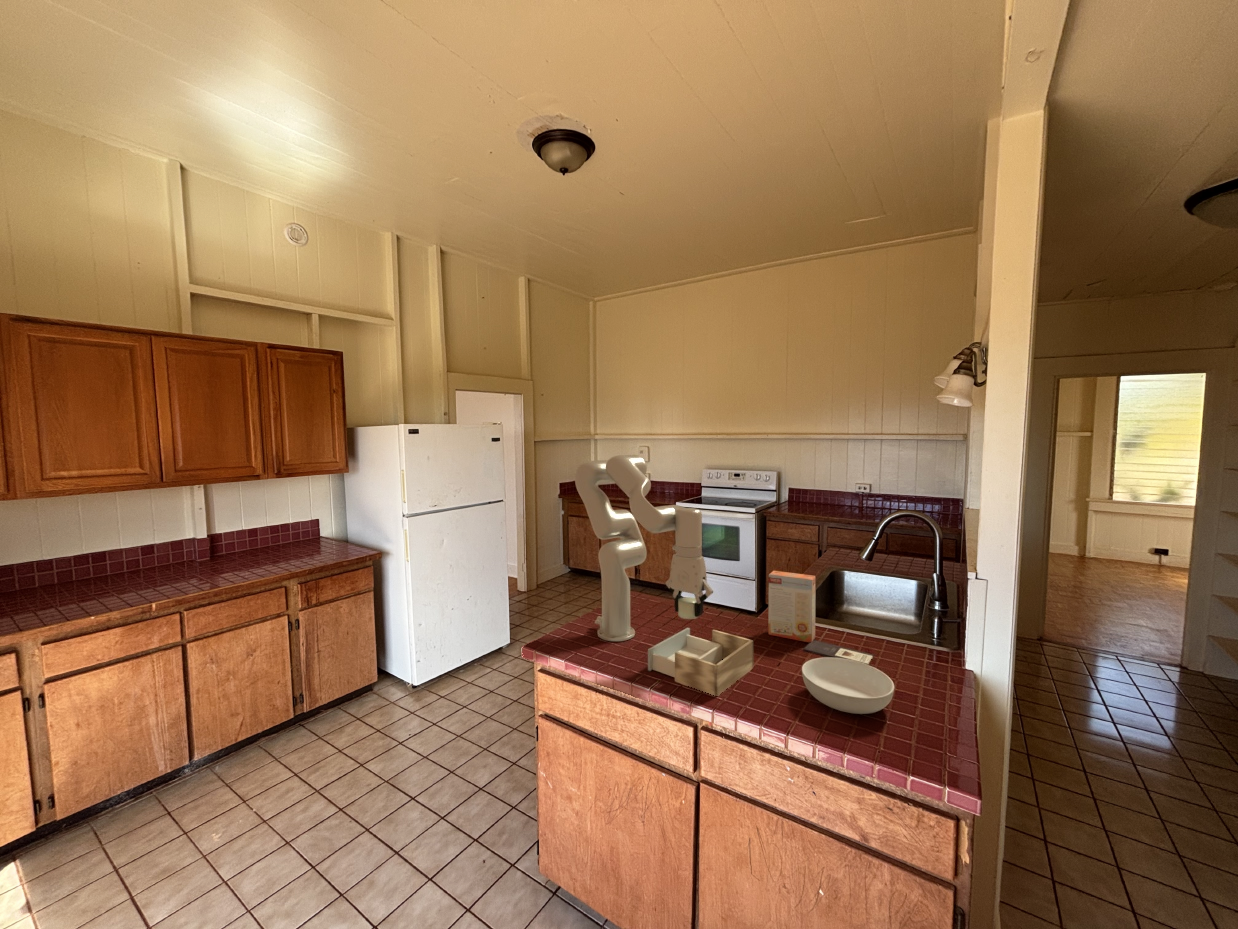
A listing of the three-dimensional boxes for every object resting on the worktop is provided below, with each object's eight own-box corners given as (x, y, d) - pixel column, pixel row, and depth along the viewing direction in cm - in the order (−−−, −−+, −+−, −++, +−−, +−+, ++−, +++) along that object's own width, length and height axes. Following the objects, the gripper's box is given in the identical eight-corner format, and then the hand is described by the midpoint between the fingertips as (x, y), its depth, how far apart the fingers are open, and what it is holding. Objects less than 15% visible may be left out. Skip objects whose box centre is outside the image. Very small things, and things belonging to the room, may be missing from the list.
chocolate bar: (812, 639, 160) (873, 654, 149) (812, 642, 160) (873, 657, 149) (803, 648, 153) (866, 665, 142) (803, 651, 153) (866, 668, 142)
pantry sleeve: (674, 681, 134) (674, 652, 133) (713, 655, 150) (713, 629, 150) (717, 697, 126) (717, 666, 125) (753, 667, 142) (753, 640, 141)
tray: (647, 670, 140) (647, 649, 139) (687, 646, 156) (687, 627, 155) (686, 684, 131) (686, 662, 131) (724, 657, 148) (724, 637, 147)
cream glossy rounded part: (674, 616, 142) (674, 601, 142) (685, 610, 147) (685, 595, 147) (692, 620, 139) (692, 605, 138) (703, 614, 143) (703, 600, 143)
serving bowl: (850, 735, 109) (850, 705, 109) (783, 691, 128) (784, 665, 128) (914, 714, 118) (914, 685, 117) (842, 675, 137) (842, 651, 136)
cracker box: (815, 637, 163) (816, 575, 162) (811, 644, 158) (812, 579, 157) (772, 629, 171) (773, 569, 169) (767, 635, 165) (768, 573, 164)
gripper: (656, 549, 145) (656, 610, 145) (708, 558, 133) (708, 623, 134) (670, 545, 150) (671, 603, 151) (721, 553, 139) (721, 616, 140)
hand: (688, 612), depth 143 cm, fingers closed on cream glossy rounded part, 5 cm apart
